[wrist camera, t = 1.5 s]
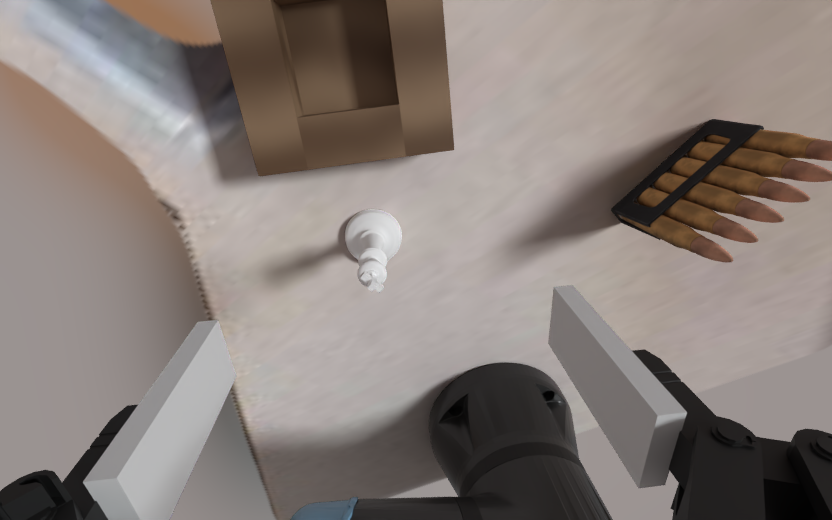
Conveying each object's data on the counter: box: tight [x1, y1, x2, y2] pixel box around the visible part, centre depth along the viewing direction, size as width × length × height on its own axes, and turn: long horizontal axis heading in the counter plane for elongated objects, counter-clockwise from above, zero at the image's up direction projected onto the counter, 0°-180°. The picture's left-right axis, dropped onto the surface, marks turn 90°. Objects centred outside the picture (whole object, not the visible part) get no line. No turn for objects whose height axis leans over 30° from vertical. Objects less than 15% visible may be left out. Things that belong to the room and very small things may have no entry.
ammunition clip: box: [611, 119, 832, 262], centre depth 30 cm, size 11×2×12 cm, turn 136°
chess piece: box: [345, 209, 402, 293], centre depth 31 cm, size 5×5×10 cm
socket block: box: [211, 0, 454, 176], centre depth 28 cm, size 14×14×4 cm
